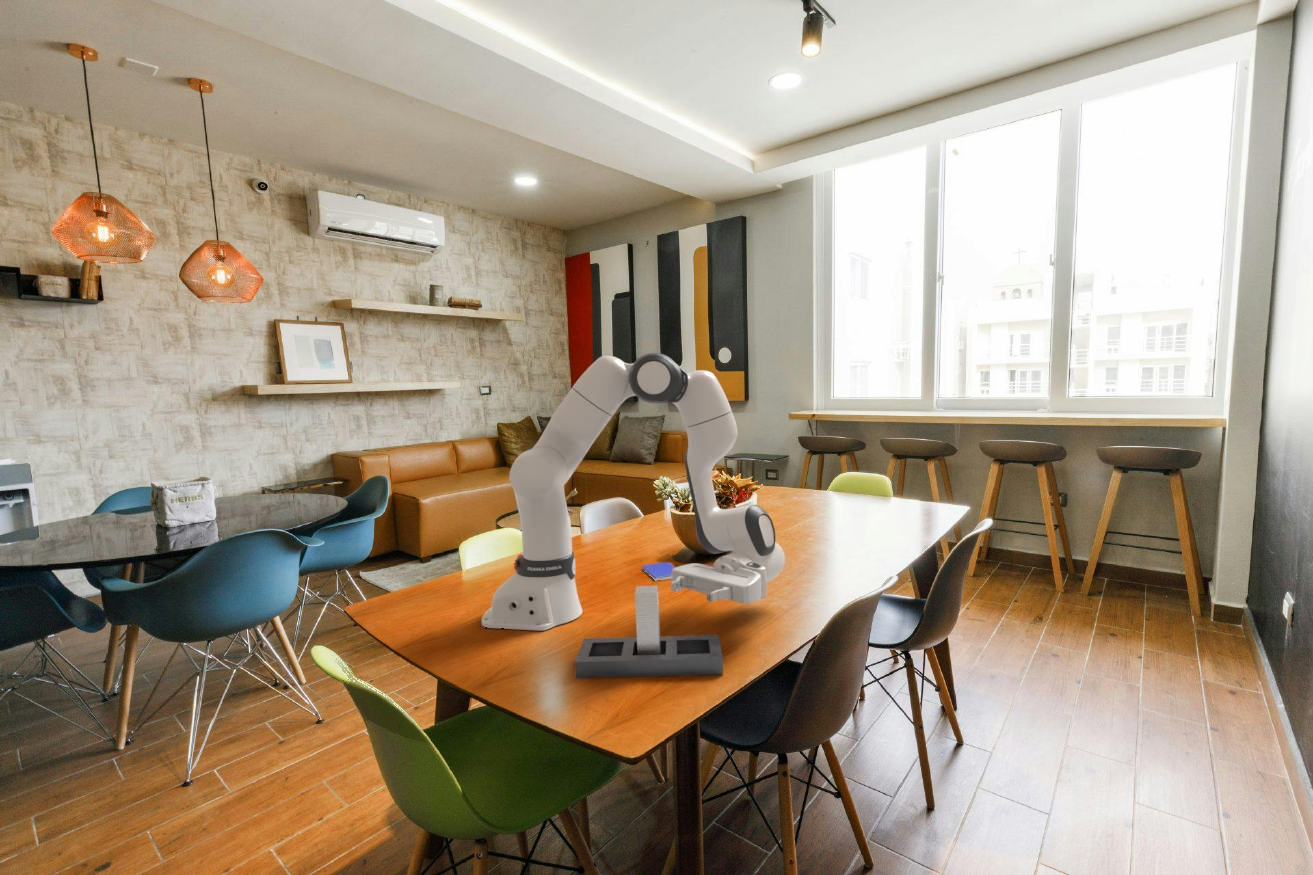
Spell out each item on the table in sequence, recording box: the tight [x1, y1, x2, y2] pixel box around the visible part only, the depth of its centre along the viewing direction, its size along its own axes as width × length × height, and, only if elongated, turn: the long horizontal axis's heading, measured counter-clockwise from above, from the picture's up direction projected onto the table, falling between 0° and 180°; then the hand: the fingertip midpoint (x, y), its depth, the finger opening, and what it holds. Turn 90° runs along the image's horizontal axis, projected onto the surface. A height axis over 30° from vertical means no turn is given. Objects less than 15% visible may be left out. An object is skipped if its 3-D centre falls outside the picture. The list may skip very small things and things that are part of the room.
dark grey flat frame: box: [574, 634, 724, 679], centre depth 109 cm, size 26×10×3 cm, turn 88°
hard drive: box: [641, 561, 676, 582], centre depth 164 cm, size 2×8×12 cm
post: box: [634, 585, 661, 655], centre depth 108 cm, size 4×4×14 cm
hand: (690, 592), depth 117 cm, fingers open, 8 cm apart
